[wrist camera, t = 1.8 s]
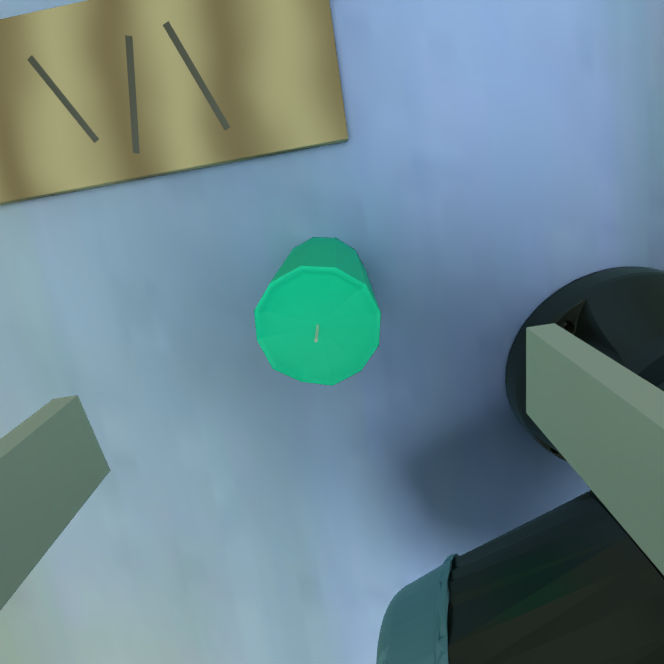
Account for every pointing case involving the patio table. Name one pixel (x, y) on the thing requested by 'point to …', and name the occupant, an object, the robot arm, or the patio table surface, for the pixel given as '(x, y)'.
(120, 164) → the oak board
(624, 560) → the robot arm
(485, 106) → the patio table surface
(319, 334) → the candle
